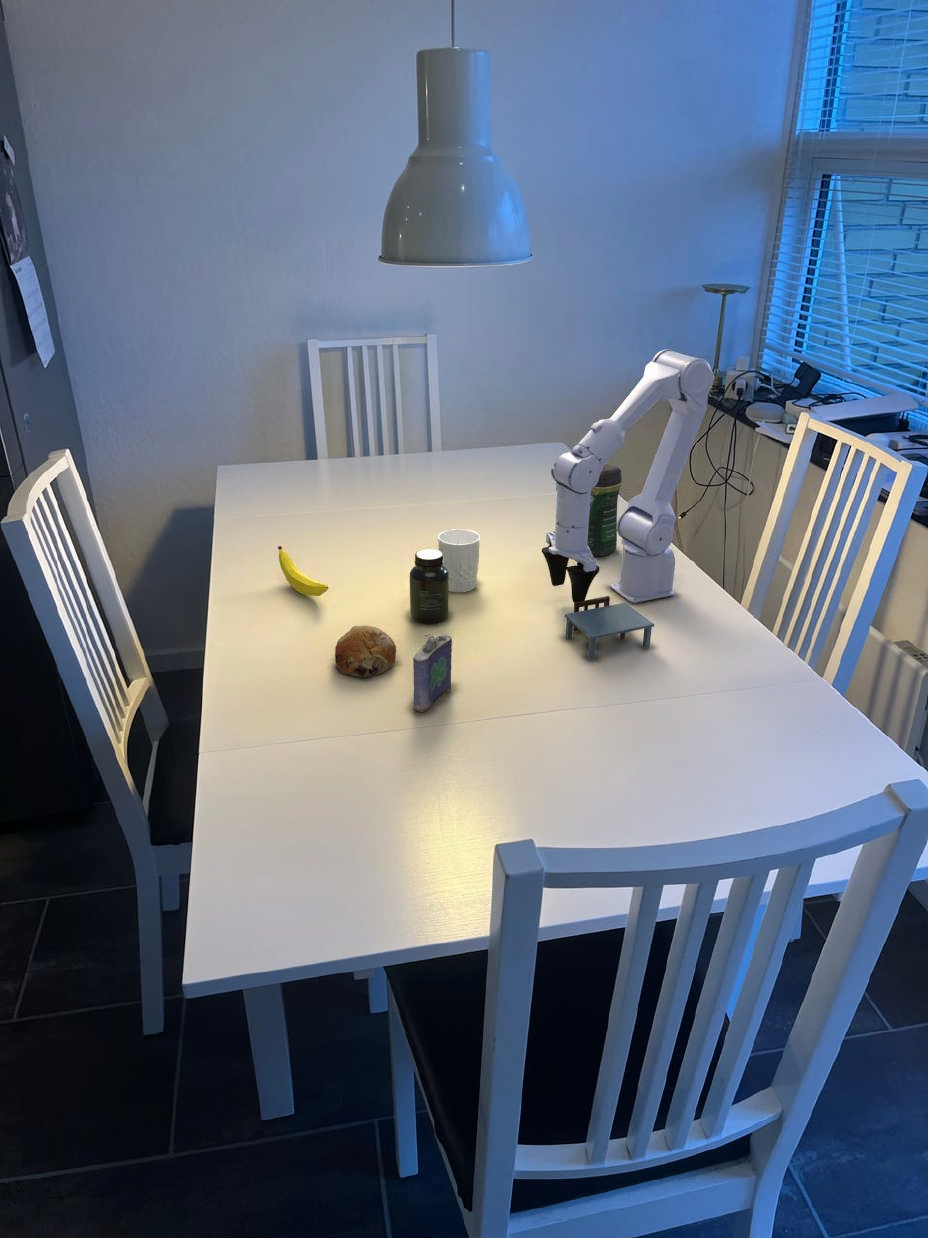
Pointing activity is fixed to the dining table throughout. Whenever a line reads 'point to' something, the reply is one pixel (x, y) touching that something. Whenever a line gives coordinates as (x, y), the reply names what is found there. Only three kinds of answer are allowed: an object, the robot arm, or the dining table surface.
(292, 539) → the dining table surface
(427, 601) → the supplement bottle
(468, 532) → the white cup
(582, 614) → the table
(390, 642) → the bread roll
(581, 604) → the chair
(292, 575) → the banana
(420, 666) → the flask
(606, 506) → the coffee jar
